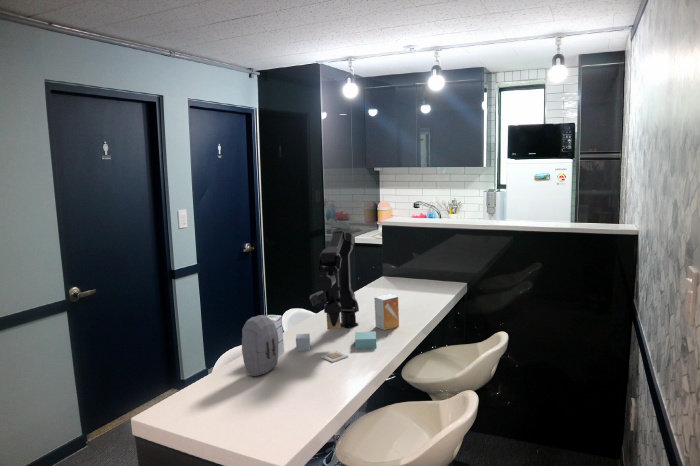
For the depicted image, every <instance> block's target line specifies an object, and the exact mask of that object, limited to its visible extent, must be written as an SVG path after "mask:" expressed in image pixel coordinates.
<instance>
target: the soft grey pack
mask: <svg viewBox="0 0 700 466" xmlns="http://www.w3.org/2000/svg"><path fill="white" fill-rule="evenodd" d="M241 331H242V332H241V333H242V334H241V352H242V358H243V364H244V366H245V371H246V373H247V374H248V376H249V375H250V376H252V377H253V376H254V377H255V376H257V377H258V376H261V375H265V374H266V373H268V372H270V371H272V370H273V369H274V368H276V366H277V365H278V360H279V359H278V358H279V357H278V342H279V340H278V334H277V330H276V327H275V324H274V322H273V321H272V320H271V319H270V318H268V317H267V315H265V314H261V315H256V316H252V317H250V318H249V319H247V320H246V322H245V323H244V325H243V327H242V330H241Z"/></svg>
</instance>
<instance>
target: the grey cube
mask: <svg viewBox="0 0 700 466" xmlns="http://www.w3.org/2000/svg"><path fill="white" fill-rule="evenodd" d="M295 346H296V352H304V351H311V337H310V333H297V334H296V336H295Z"/></svg>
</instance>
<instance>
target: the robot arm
mask: <svg viewBox="0 0 700 466" xmlns="http://www.w3.org/2000/svg"><path fill="white" fill-rule="evenodd" d="M354 245H355V237H354V236H353V234H352V233H349V232H347V231H346V230H340V229H339V230H334V231H332V236H331V239H330V242H329V243H328V246H327V247H326V248H324V249H323V250H322V251H321V253H320V255H319V256H318V262H317V263H318V264H317V272H318V273H320V274H321V275H320V276H319V277H318V278H317V280H316V287H317V288H318V289H319V291H317V292H315V293H312V294H310V295H309V300H310V303H311V305H312V306H313V307H314V306H317V304H320V303H322V302H323V303H324V305H323V311H324V312H323V313H324V314H327V313H328V314H329V316H330V319H331V323H332V326H336V323H337V320H338V317H339V314H340V326H341V327H343V328H347V329H349V328H352V327H354V326H359V322H357V320H356V319H357V317H356V313H357V312H359V311H360V310H359V309H360V308H359V303H358V300H357V298H356V293H355V292H354V291H353V288H352V285H351V283H352V282H351V281H352V280H351V279H352V278H351V259H350V258H351V257H350V254H351V252H352V251H353V249H354Z"/></svg>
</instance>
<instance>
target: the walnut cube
mask: <svg viewBox="0 0 700 466" xmlns="http://www.w3.org/2000/svg"><path fill="white" fill-rule="evenodd" d="M340 323H341V313H340V314H339V317H338V320H337V323H336V326H332V323H331V319H330V316H329V314H328V313H326V327H327V330H337V329H340V330H341V327H342V326H340Z"/></svg>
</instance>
